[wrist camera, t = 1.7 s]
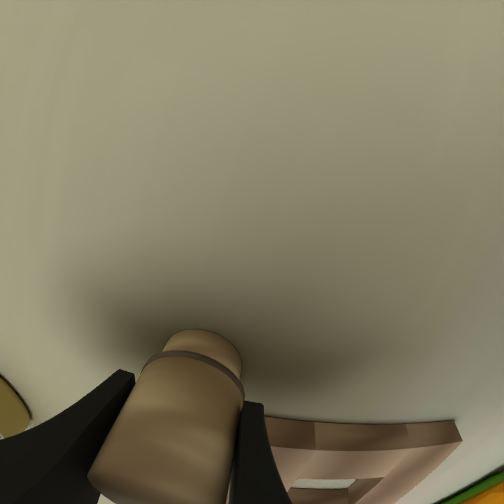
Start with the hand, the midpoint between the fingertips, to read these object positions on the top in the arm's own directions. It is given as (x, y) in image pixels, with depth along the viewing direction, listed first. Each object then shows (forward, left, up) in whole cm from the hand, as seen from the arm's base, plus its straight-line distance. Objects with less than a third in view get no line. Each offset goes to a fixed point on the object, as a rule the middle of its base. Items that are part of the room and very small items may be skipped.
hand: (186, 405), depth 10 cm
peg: (0, 0, -3) cm, 3 cm away
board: (-8, +9, -3) cm, 13 cm away
